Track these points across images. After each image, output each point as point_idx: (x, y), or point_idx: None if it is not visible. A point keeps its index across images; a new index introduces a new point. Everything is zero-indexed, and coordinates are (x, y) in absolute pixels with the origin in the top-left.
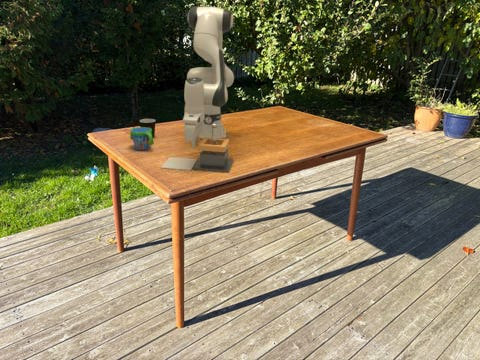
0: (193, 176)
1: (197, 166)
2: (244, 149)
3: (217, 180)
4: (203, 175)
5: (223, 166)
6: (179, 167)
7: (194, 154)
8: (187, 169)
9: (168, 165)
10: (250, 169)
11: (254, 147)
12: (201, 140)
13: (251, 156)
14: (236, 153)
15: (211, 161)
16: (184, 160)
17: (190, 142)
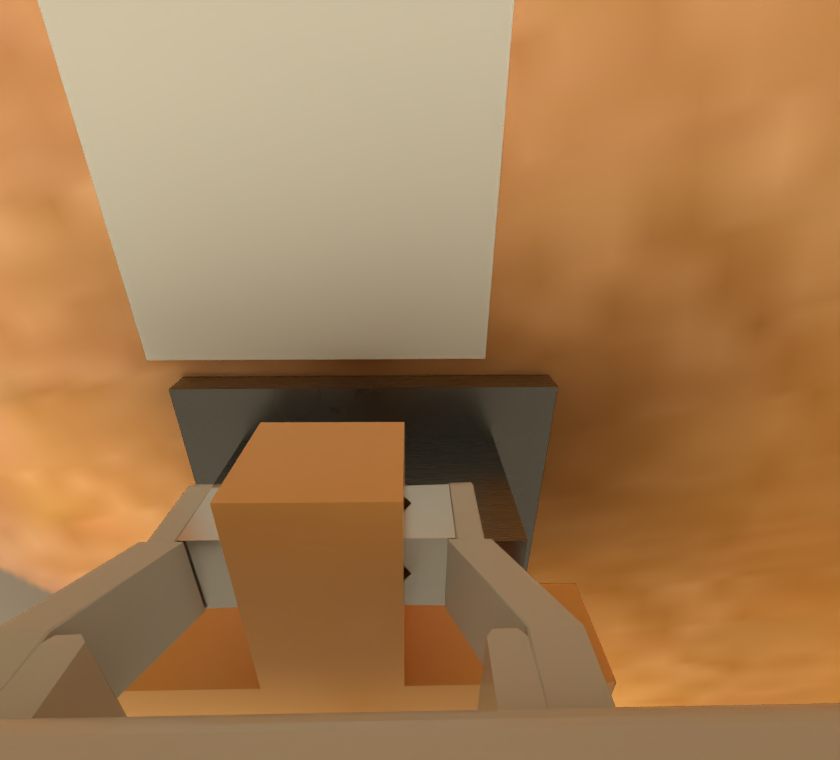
0: (31, 412)
1: (221, 419)
2: (789, 637)
3: (69, 582)
4: (105, 482)
5: None
6: (148, 211)
7: (691, 268)
8: (136, 324)
9: (146, 7)
10: None
11: (826, 680)
12: (375, 682)
13: (619, 683)
14: (694, 606)
15: None
16: (417, 207)
17: (226, 490)
